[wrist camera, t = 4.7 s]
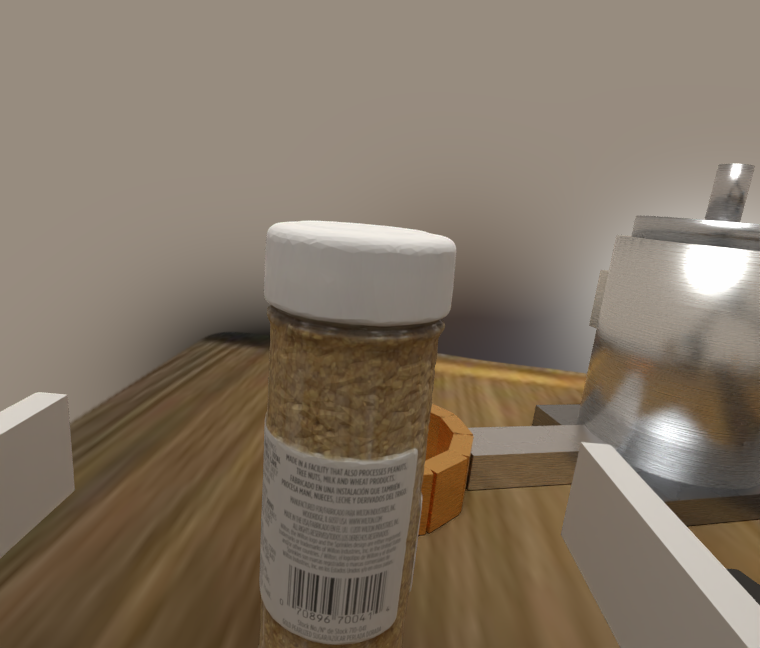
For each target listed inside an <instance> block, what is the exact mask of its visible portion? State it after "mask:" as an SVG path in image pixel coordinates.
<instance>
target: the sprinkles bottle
mask: <svg viewBox="0 0 760 648" xmlns="http://www.w3.org/2000/svg"><path fill="white" fill-rule="evenodd" d="M455 261H456V246H455V244H454V242H453V241H452V240H451V239H449V238H447V237H445V236H440V235H436V234H430V233H427V232H425V231H419V230H414V229H406V228H398V227H391V226H379V225H369V224H359V223H345V222H330V221H300V222H281V223H277V224H274V225H273V226H271V227H270V228H269V230H268V232H267V238H266V256H265V276H264V277H265V278H264V296H265V299H266V300H267V302H268V303H269V304H271V306H269V307H268V308H267V316H268V319H269V321H270V324H271V326H270V327H271V333H270V336H271V343H270V350H269V351H270V357H269V359H270V367H269V378H268V411H267V413H266V417H265V431H264V469H263V495H262V518H261V553H260V592H261V628H260V642H259V646H258V648H401V646H402V640H403V629H404V621H405V616H406V608H407V598H408V595H409V593H410V591H411V587H412V580H413V572H414V566H415V558H416V550H417V542H418V534H419V526H420V519H421V510H422V492H421V487H422V482H423V475H424V465H425V459H426V449H427V436H428V431H429V429H428V426H429V423H430V412H431V407H432V392H433V384H434V375H435V370H434V368H435V364H436V359H437V345H438V338H439V336H440V334H441V333H442V332H443V330H444V327H445V325H444V322H443V321H442V318H443V317H445V316H446V315H448V313H449V311H450V309H451V300H452V292H453V283H454V273H455Z"/></svg>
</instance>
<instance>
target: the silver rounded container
mask: <svg viewBox="0 0 760 648" xmlns="http://www.w3.org/2000/svg"><path fill="white" fill-rule="evenodd" d="M754 168H755V166H753V165H746V164H721V165H718V169H717V173H716V177H715V181H714V185H713V189H712V193H711V197H710V201H709V205H708V209H707V212H706V216H705V220H700V219H686V218H672V217H656V216H636V219H635V223H634V228H633V232H632V236H624V235H617V236H616V240H615V245H614V250H613V254H612V259H611V264H610V268H609V270H601V271H600V276H599V281H598V286H597V291H596V295H595V300H594V305H593V310H592V314H591V319H590V324H589V326H591V327H594V328H596V329H597V330H596V334H595V339H594V344H593V349H592V353H591V358H590V363H589V367H588V372H587V377H586V381H585V386H584V391H583V396H582V400H581V405H536V408H535V413H534V419H533V424H532V425H533V426H521V427H485V428H467V427H466V426H465V424H464V423H463V422H462V421H461V420H460V419H459V418H458V416H457V415H454V413H451V412H449V411H447V410H445V409H443V408H441V407H438V406H436V405H434V404H432V407H431V412H430V423H429V426H428V429H429V431H428V436H427V449H426V459H425V465H424V475H423V482H422V487H421V492H422V510H421V519H420V526H419V534H418V535H423V534H426V531H427V532H428V533H430V532H432V531H433V530H435V529H437V528H438V527H440V526H441V525H443V524H445V523H446V522H448V521H449V520H451V519H453V518H454V517H456V516H457V515H459V512H461V508H462V503H463V499H464V494H465V489H466V488H467V489H468V490H478V489H494V488H510V487H526V486H541V485H557V484H572V481H573V476H574V472H575V467H576V462H577V458H578V453H579V448H580V444H581V442H586V443H597V444H608V445H611V446H612V447H613V448H614V449H615V450H616V451H617V452H618V453H619V454H620V455H621V456H622V458H623V459H624V460H625V461H626V462H627V463H628V464H629V465H630V466H631V467H632V468H633V469H634V470H635V472H636V473H637V474H638V475H639V476H640V477H641V478H642V479H643V480H644V481H645V482H646V483H647V484H648V486H649V487H650V488H651V489H652V490H653V491H654V492H655V493H656V494H657V495H658V496H659V497H660V498H661V500H662V501H663V502H664V503H665V504H666V505H667V506H668V507H669V508H670V509H671V510H672V511H673V512H674V514H675V515H676V516H677V517H678V518H679V519H680V520H681V521H682V522H683V523H684V524H685V525H686V526H690V525H700V524H711V523H721V522H732V521H742V520H753V519H760V224H748V223H740V220H741V216H742V213H743V209H744V205H745V202H746V198H747V194H748V191H749V187H750V183H751V180H752V176H753V172H754Z"/></svg>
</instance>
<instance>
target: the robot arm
mask: <svg viewBox="0 0 760 648" xmlns="http://www.w3.org/2000/svg"><path fill="white" fill-rule="evenodd" d="M74 490H75V489H74V476H73V462H72V449H71V435H70V422H69V408H68V395H64V394H52V393H43V392H37V393H34V394H33V395H31V396H29V397H27V398H25V399H23V400H21V401H20V402H18V403H16V404H14V405H12V406H10V407H9V408H7V409H5V410H3V411H1V412H0V558H1V557H2V556H3V555H4V554H5V553H6V552H8V551H9V550H10V549H11V548H12V547H13V546H14V545H15V544H16V543H17V542H18V541H20V540H21V539H22V538H23V537H24V536H25V535H26V534H27V533H28V532H29V531H31V530H32V529H33V528H34V527H35V526H36V525H37V524H38V523H39V522H40V521H42V520H43V519H44V518H45V517H46V516H47V515H48V514H49V513H50V512H51V511H52V510H54V509H55V508H56V507H57V506H58V505H59V504H60V503H61V502H62V501H63V500H65V499H66V498H67V497H68V496H69V495H70V494H71V493H72V492H73V491H74ZM561 535H562V537H563V539H564V541H565V543H566V545H567V547H568V549H569V551H570V553H571V555H572V556H573V558H574V560H575V562H576V564H577V566H578V568H579V570H580V572H581V574H582V575H583V577H584V579H585V581H586V583H587V585H588V587H589V589H590V591H591V593H592V595H593V596H594V598H595V600H596V602H597V604H598V606H599V608H600V610H601V612H602V614H603V615H604V617H605V619H606V621H607V623H608V625H609V627H610V629H611V631H612V633H613V634H614V636H615V638H616V640H617V642H618V644H619V646H620V648H760V585H759V584H757V583H756V582H755V581H753V580H752V579H750V578H749V577H747V576H746V575H745V574H743V573H742V572H740V571H739V570H735V569H726V568H725V567H724V566H723V565H722V564H721V563H720V562H719V561H718V560H717V559H716V558H715V557H714V556H713V554H712V553H711V552H710V551H709V550H708V549H707V548H706V547H705V546H704V545H703V544H702V543H701V542H700V540H699V539H698V538H697V537H696V536H695V535H694V534H693V533H692V532H691V531H690V530H689V529H688V528H687V526H686V525H685V524H684V523H683V522H682V521H681V520H680V519H679V518H678V517H677V516H676V515H675V514H674V512H673V511H672V510H671V509H670V508H669V507H668V506H667V505H666V504H665V503H664V502H663V501H662V500H661V498H660V497H659V496H658V495H657V494H656V493H655V492H654V491H653V490H652V489H651V488H650V487H649V486H648V484H647V483H646V482H645V481H644V480H643V479H642V478H641V477H640V476H639V475H638V474H637V473H636V472H635V470H634V469H633V468H632V467H631V466H630V465H629V464H628V463H627V462H626V461H625V460H624V459H623V458H622V456H621V455H620V454H619V453H618V452H617V451H616V450H615V449H614V448H613V447H612V446H611V445H608V444H597V443H586V442H581V444H580V448H579V453H578V458H577V462H576V467H575V472H574V476H573V481H572V485H571V490H570V495H569V499H568V504H567V509H566V513H565V518H564V522H563V527H562V532H561Z"/></svg>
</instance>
